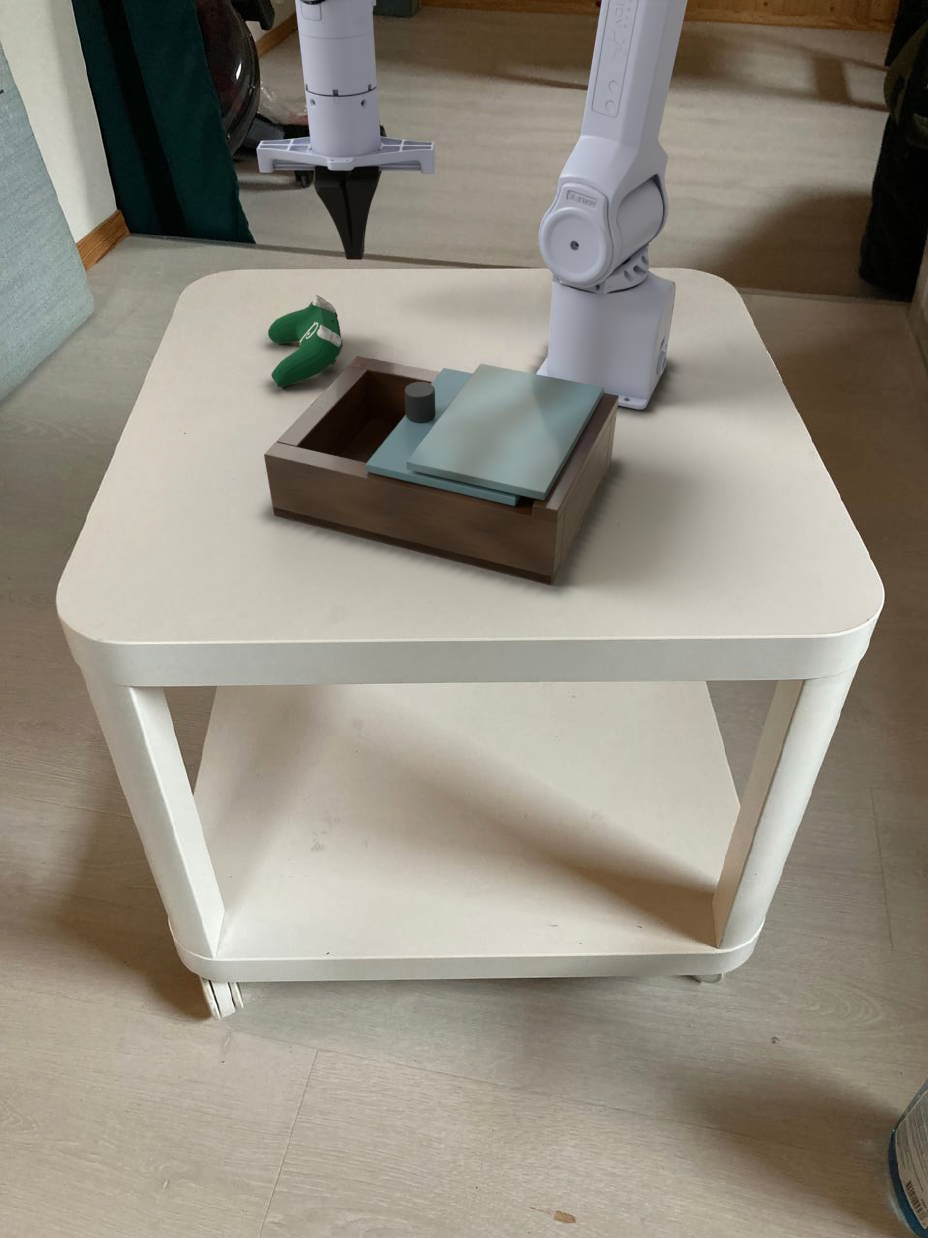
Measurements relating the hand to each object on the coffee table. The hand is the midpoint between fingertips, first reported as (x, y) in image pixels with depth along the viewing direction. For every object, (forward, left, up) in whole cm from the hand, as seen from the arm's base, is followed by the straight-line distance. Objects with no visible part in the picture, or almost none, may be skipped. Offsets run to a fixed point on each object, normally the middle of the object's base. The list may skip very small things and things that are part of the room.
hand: (355, 254), depth 87 cm
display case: (-18, +24, -5) cm, 30 cm away
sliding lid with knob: (-20, +24, 0) cm, 31 cm away
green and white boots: (0, +11, -5) cm, 12 cm away
